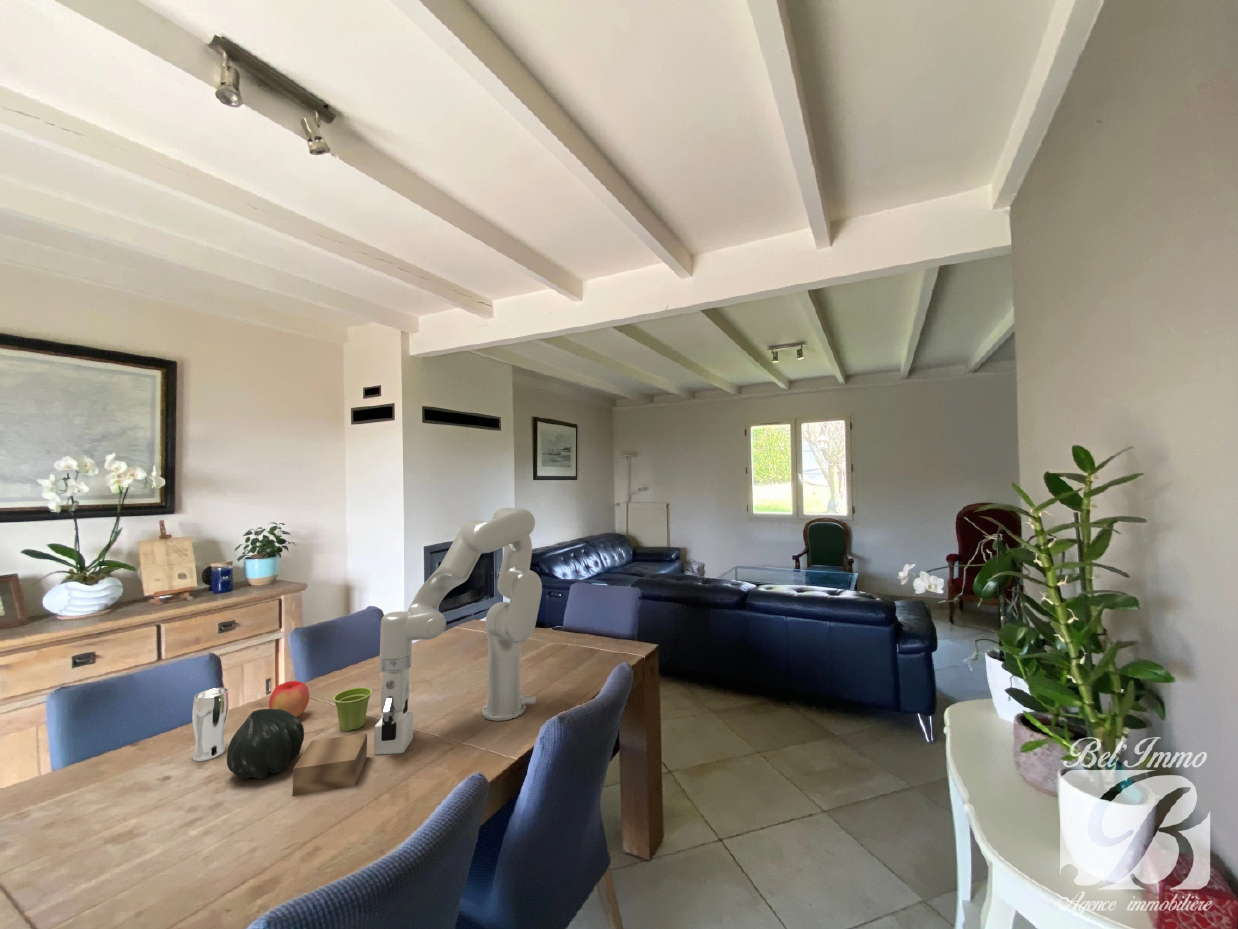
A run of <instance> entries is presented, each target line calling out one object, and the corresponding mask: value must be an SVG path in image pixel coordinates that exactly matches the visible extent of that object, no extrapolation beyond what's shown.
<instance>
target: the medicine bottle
mask: <svg viewBox="0 0 1238 929" xmlns="http://www.w3.org/2000/svg"><path fill="white" fill-rule="evenodd" d="M408 701H409V699H406V701H405V707H404V709H403V710H402V711H401V712H397V713H396V719H395V722H396V738H395V740H389V741H382V740H381V735H382V718H383V713H382V712H381V717H380V719H379V721H378V722H376V724H375V725H374V742H373V743H374V746H373V750H374V752H373V754H374V755H391V754H392V755H393V754H404V752H405V751H406V750H407V748H408V746H409V745H410V743H411V742H412V741H413V739H414V712H413V711H408V710H409V704H408V703H409V702H408ZM394 709H395V708H391V710H394ZM390 716H392V717H393V714H390Z"/></svg>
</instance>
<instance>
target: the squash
mask: <svg viewBox="0 0 1238 929" xmlns="http://www.w3.org/2000/svg"><path fill="white" fill-rule="evenodd" d="M236 730H237V731H236V732H235V733H234V735H233V736H232V737H231V739H230V742H229V744H228V747H227V752H226V766H227V768H228V770H229V771H230V772H231V773H233V775H235V776H236V777H237V778H238V779H241V780H242V779H243V780H244V779H251V778H255V779H260V780H261V779H264V778H266V777H267V776H268V775H269V774H270V773H272V774H279V773H281V772H283V770H285V768H286V767H287V765H288V763H291V762H293V761H294V760H295V759H297V757H298V756H299V755H300V752H301V749H302V746H303V744H304V743H303V742H304V741H305V740H304V739H305V727H304V724H302V722H301V719H299V718H298V717H295V716H293V715H292V714H291V713H289V712H287V711H284V710H281V709H269V708H261V709H257V710H253V711H252V712H251V713H250V714H249V715H248V716H247V718H246V719H245V721H244V722H243V724H242V725H241V726H240V727H239V728H238V729H236Z"/></svg>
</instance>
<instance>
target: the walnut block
mask: <svg viewBox="0 0 1238 929" xmlns="http://www.w3.org/2000/svg"><path fill="white" fill-rule="evenodd" d="M367 753H368V733H366V732H365V733H358V734H352V735H343V736H335V737H328V738H321V739H313V740H311V741H310V742H309V744H308V745H307V747H306V748H305V750H304V751H303V753H302V755H301V756H300V757H299V759H298V761H297V762H296V764H295V765H294V767H293V768H292V769H293V770H292V792H291V793H292V795H291V796H292V797H296V796H301V795H302V796H303V795H306V794H307V795H308V794H313V793H319V792H326V791H332V790H338V789H346V788H351V787H355V786H356V783H357V781H358V779H359V776H360V774H361V772H362V770H363V767H364V765H365V762H366V759H367V758H368V754H367Z"/></svg>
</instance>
